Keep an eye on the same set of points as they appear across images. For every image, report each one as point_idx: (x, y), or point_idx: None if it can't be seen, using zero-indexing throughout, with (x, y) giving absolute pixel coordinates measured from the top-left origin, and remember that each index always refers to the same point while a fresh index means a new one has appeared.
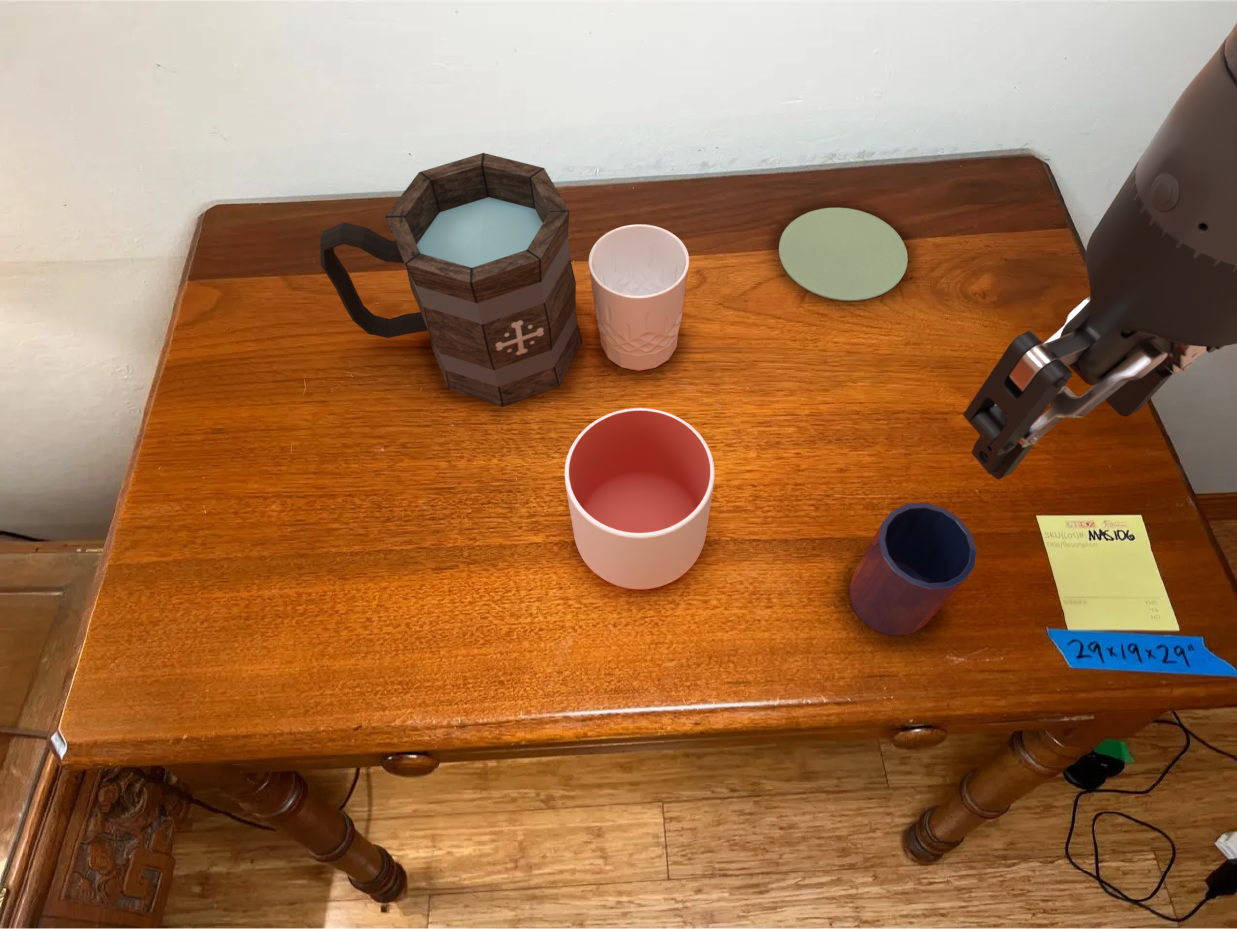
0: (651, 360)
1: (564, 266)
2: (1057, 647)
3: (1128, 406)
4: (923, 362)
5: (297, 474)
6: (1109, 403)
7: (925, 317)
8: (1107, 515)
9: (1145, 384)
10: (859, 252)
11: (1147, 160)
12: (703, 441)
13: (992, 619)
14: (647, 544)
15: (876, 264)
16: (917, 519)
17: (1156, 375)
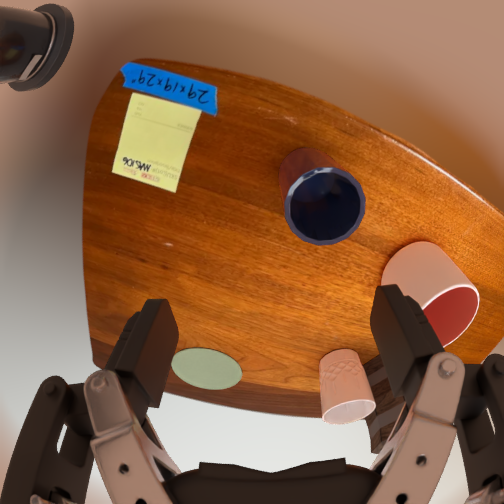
0: (346, 354)
1: (383, 413)
2: (216, 101)
3: (161, 315)
4: (192, 308)
5: (478, 332)
6: (173, 317)
7: (178, 329)
8: (130, 177)
9: (147, 355)
10: (197, 368)
11: None
12: None
13: (248, 134)
14: (465, 278)
15: (191, 360)
16: (303, 227)
17: (138, 374)
